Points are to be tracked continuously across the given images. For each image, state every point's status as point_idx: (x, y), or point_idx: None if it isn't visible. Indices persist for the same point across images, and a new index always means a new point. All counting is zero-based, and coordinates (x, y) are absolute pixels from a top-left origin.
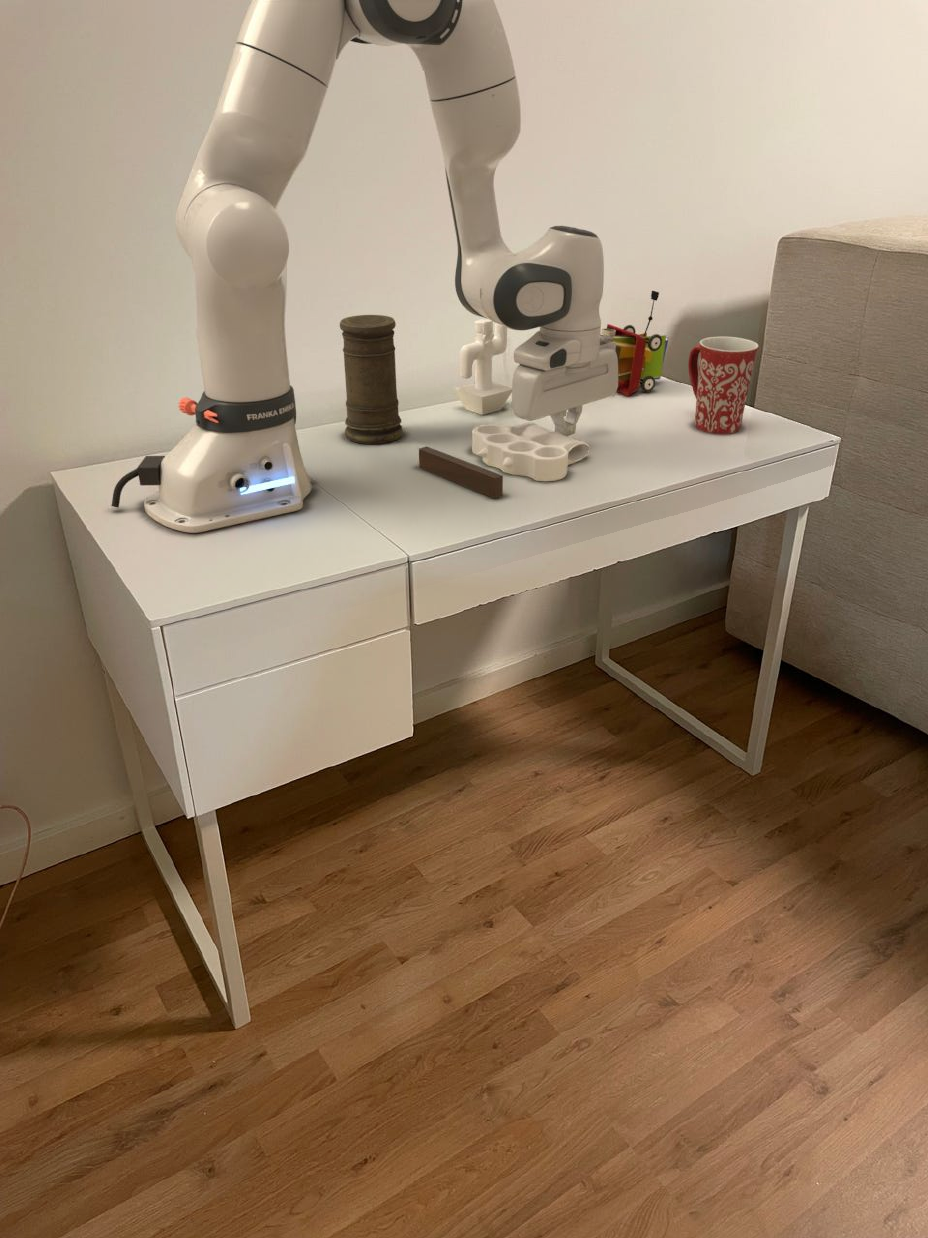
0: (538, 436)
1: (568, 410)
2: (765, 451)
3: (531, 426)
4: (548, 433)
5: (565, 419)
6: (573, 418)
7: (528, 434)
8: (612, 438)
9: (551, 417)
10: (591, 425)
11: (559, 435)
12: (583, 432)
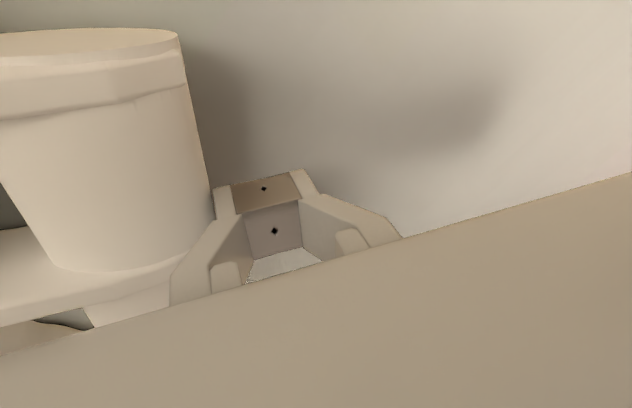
0: (12, 323)
1: (349, 224)
2: None
3: (60, 133)
4: (101, 302)
5: (305, 206)
6: (323, 250)
7: (4, 182)
8: (434, 183)
9: (181, 265)
10: (521, 21)
11: (160, 308)
12: (429, 76)
